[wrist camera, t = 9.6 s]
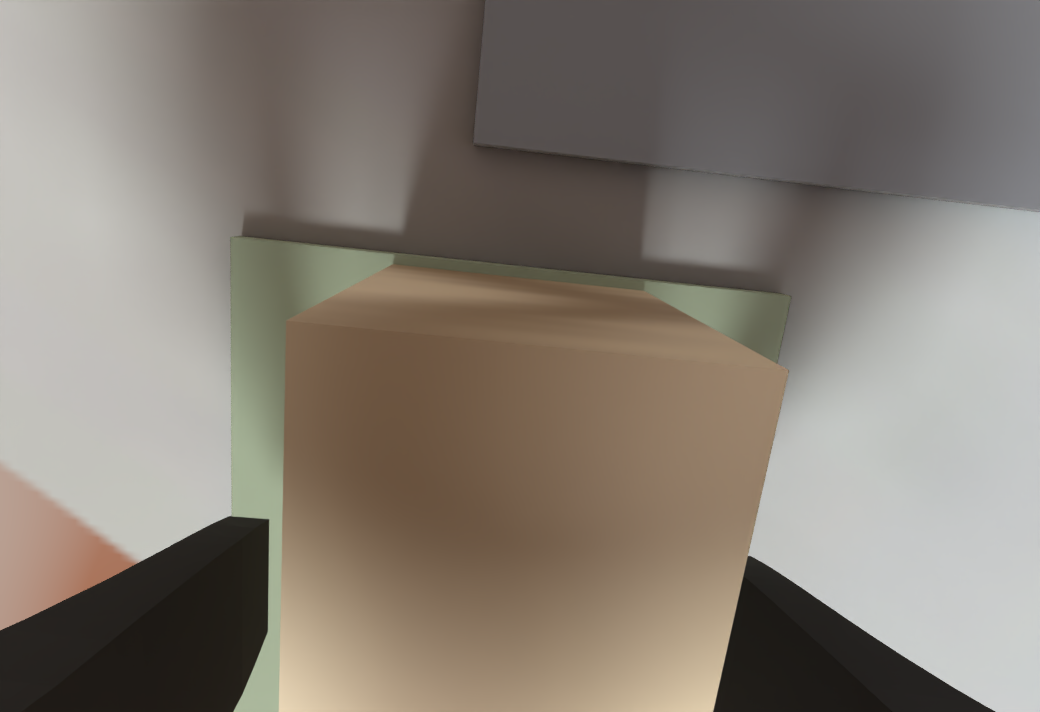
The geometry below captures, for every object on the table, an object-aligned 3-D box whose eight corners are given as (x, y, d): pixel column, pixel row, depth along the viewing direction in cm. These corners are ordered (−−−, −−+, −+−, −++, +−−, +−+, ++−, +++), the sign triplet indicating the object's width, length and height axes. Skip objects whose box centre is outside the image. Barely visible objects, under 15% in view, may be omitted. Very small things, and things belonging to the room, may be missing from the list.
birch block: (644, 290, 11) (788, 370, 5) (578, 705, 13) (636, 1056, 8) (392, 264, 10) (285, 320, 5) (367, 692, 13) (272, 1048, 7)
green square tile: (781, 293, 11) (791, 296, 11) (688, 728, 14) (695, 743, 13) (240, 236, 11) (230, 236, 10) (240, 702, 13) (232, 717, 13)
